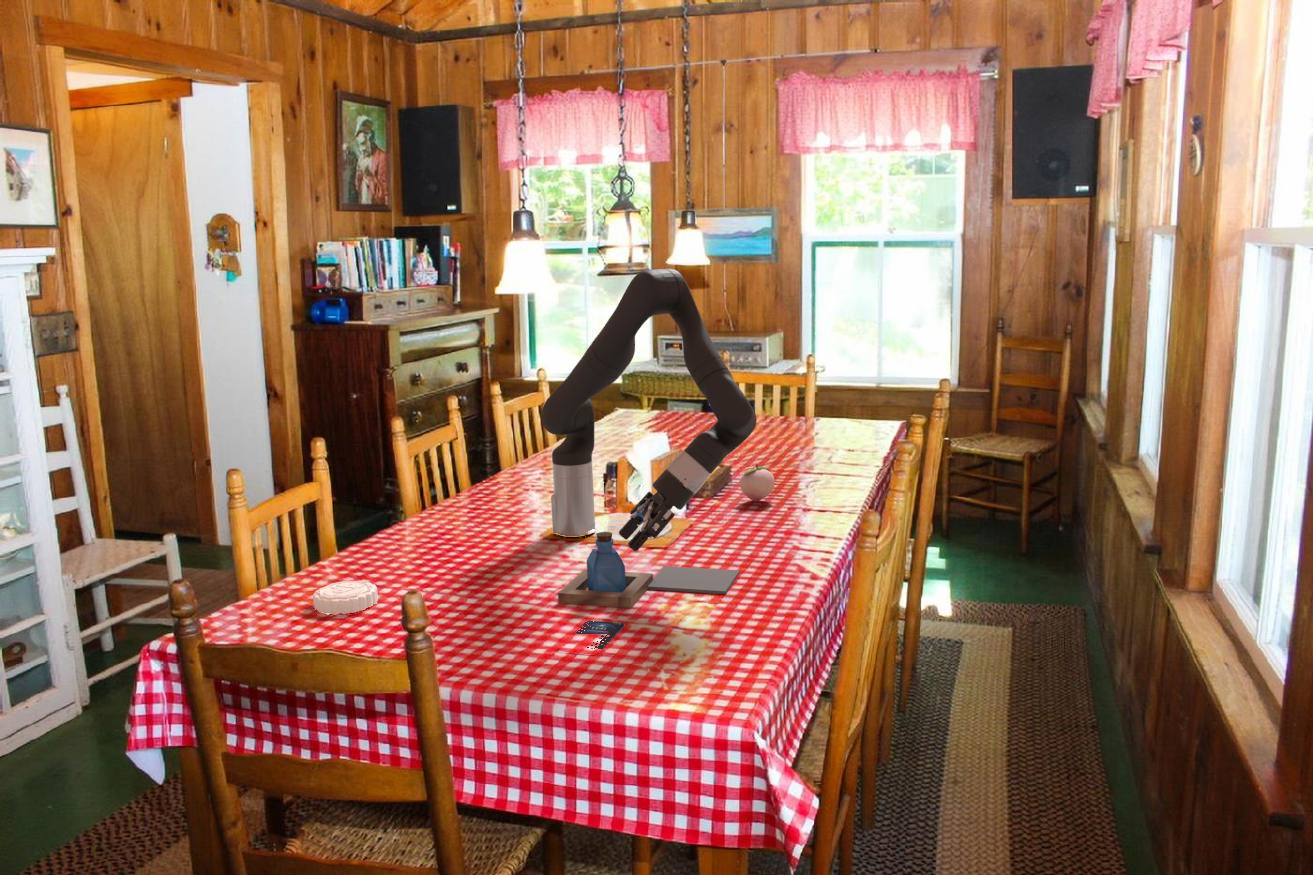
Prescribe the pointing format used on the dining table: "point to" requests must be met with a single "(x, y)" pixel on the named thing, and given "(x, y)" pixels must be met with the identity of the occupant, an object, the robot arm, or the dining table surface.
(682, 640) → the dining table surface
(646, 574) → the block
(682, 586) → the rubber mat
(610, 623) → the smartphone
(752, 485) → the decorative fruit
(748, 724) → the dining table surface
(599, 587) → the perfume bottle
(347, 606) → the mooncake
